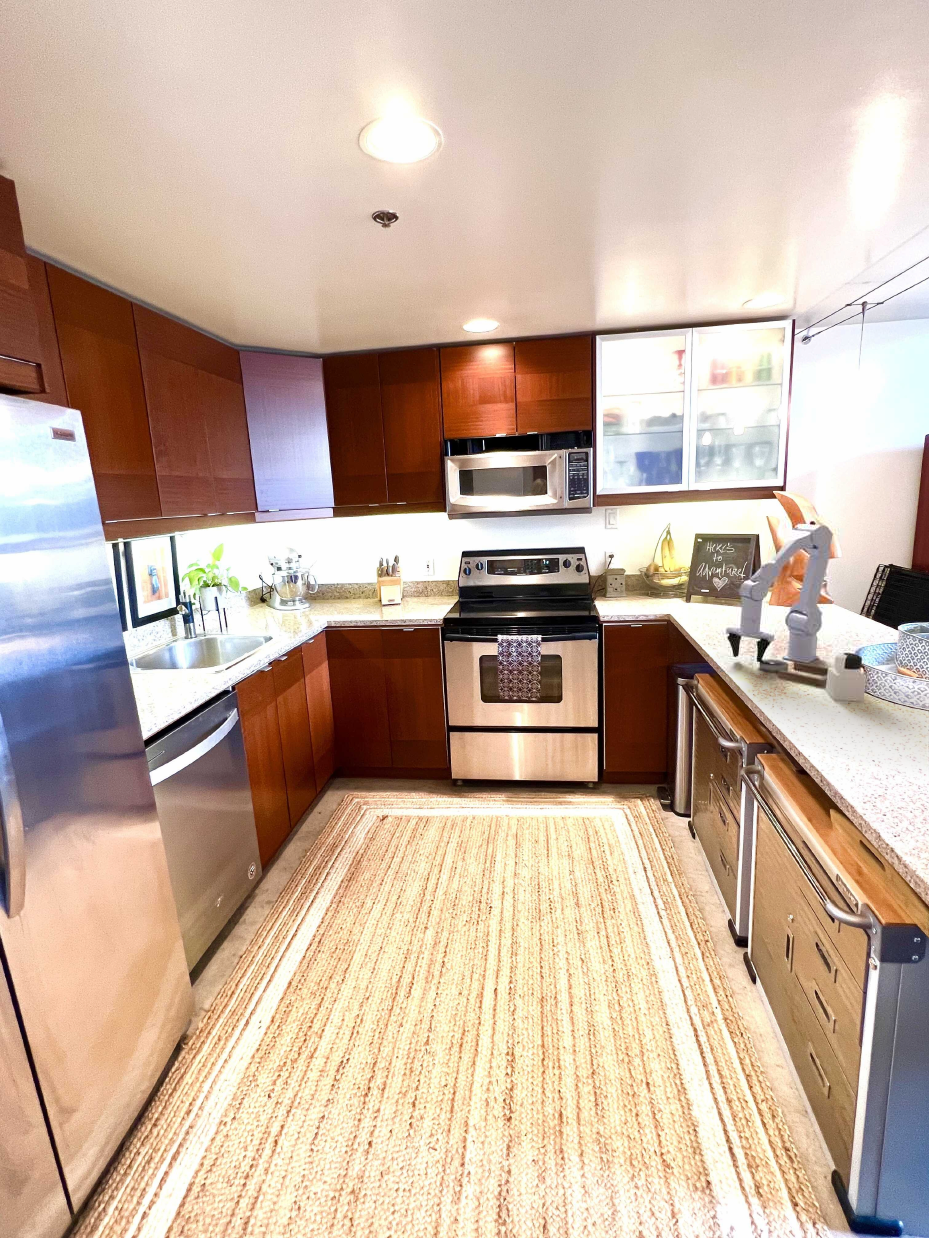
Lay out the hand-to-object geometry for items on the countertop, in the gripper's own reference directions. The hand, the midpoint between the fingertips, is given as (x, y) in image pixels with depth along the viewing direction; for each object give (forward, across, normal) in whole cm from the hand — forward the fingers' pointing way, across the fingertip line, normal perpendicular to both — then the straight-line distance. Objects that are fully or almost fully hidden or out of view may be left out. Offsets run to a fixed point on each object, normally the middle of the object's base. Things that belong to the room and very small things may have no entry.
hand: (747, 658), depth 188 cm
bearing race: (+2, +8, 0) cm, 9 cm away
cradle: (+2, +18, 0) cm, 18 cm away
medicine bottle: (+2, +31, -10) cm, 33 cm away
